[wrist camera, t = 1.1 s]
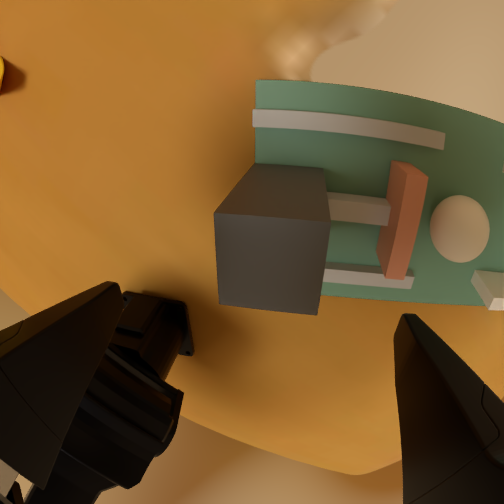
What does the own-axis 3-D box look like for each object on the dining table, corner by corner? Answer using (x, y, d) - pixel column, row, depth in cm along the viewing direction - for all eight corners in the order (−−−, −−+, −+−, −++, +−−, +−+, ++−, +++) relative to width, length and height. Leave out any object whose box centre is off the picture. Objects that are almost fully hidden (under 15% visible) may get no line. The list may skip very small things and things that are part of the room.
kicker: (392, 252, 18) (425, 339, 11) (253, 239, 20) (220, 322, 13) (409, 163, 15) (471, 213, 9) (254, 146, 17) (212, 185, 10)
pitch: (517, 301, 19) (536, 332, 15) (255, 281, 23) (243, 319, 19) (563, 151, 12) (596, 167, 8) (258, 80, 16) (242, 75, 12)
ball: (463, 246, 17) (487, 277, 14) (415, 240, 18) (434, 272, 14) (478, 192, 15) (508, 215, 12) (428, 181, 16) (453, 204, 12)
